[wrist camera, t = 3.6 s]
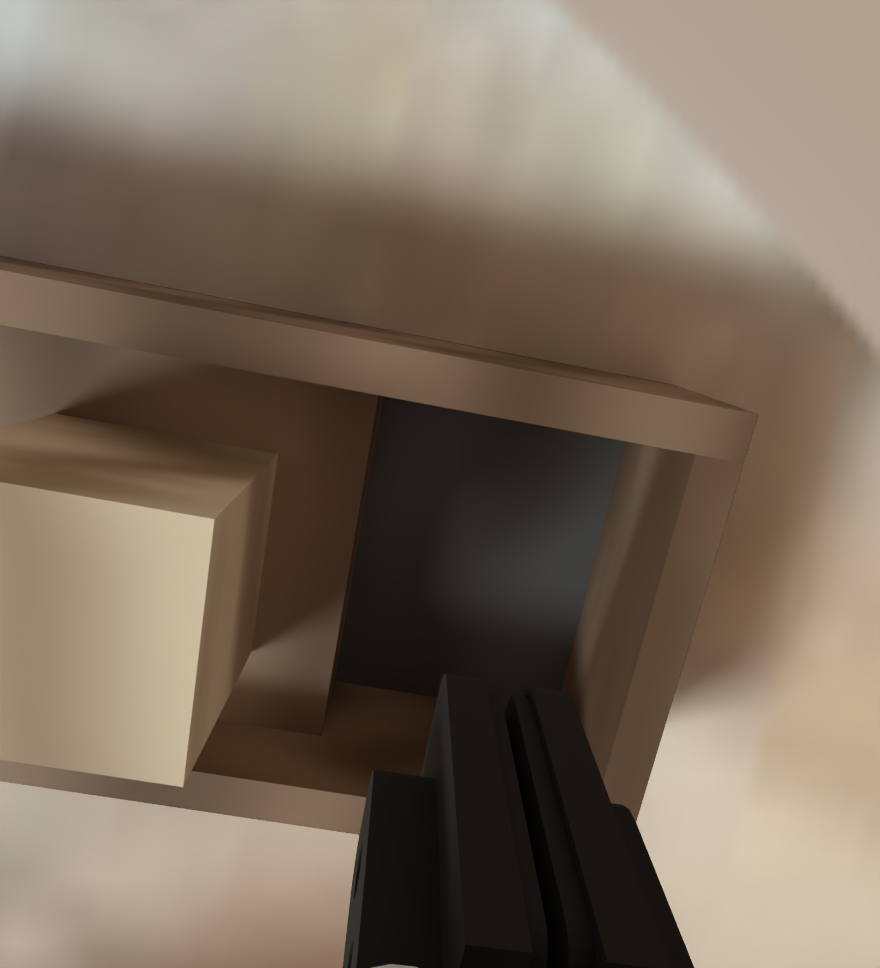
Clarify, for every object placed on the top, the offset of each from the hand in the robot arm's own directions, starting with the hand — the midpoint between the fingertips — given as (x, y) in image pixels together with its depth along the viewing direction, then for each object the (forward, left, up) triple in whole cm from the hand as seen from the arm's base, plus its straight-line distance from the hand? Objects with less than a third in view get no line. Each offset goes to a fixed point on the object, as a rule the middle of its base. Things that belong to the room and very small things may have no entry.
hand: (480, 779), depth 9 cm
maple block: (+7, +1, -8) cm, 11 cm away
